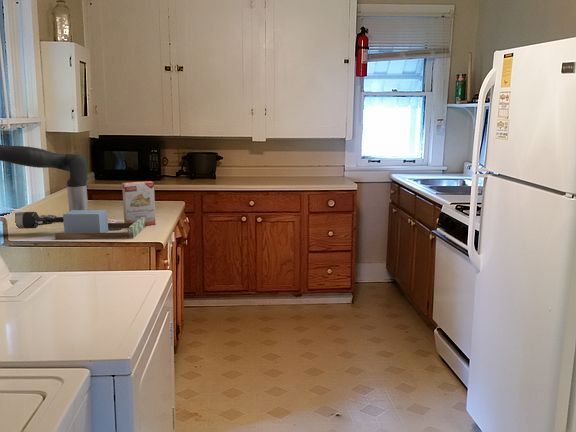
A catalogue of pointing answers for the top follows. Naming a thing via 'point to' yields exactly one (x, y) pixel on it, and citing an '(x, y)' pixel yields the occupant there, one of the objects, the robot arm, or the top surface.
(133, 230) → the tray
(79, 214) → the slate block
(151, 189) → the cracker box
